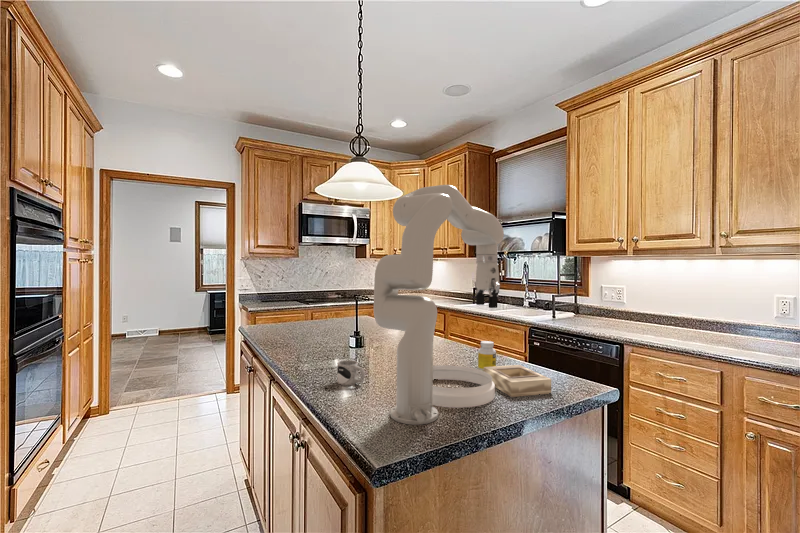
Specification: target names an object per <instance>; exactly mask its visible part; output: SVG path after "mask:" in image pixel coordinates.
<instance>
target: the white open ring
mask: <svg viewBox="0 0 800 533" xmlns="http://www.w3.org/2000/svg"><path fill="white" fill-rule="evenodd" d="M434 379H438V380H451V381H452V380H453V381H454V380H455V381H463V382H469V383H474V384H478V386H473V387H464V388H463V387H460V388H459V387H443V386H437V385H436V386H435V385H433V396H432V406H437V407H445V408H456V409H458V408H473V407H479V406H483V405H486V404H488V403H491V402H492V401H493V400H494V399H495V397H496V387H495V384H494V382H493V381H492V377H491V375H490V374H488V373H486V372H484V371H482V370H479V369H478V368H475V367H470V366H464V365H463V366H462V365H455V364H454V365H453V364H452V365H451V364H443V365H442V364H437V365H433V381H434Z"/></svg>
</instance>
